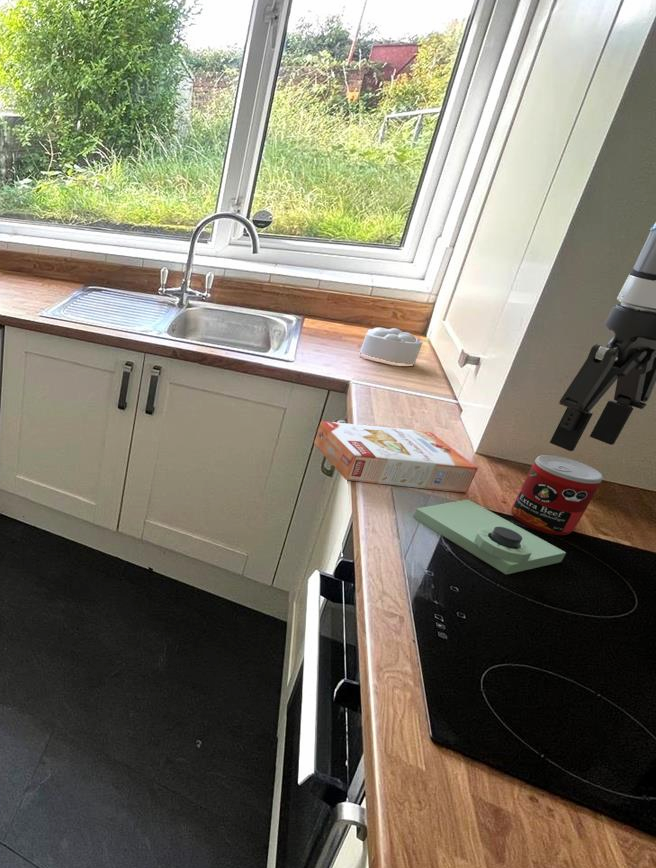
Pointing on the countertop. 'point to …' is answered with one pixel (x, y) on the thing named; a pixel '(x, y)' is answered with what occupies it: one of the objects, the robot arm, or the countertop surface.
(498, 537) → the button
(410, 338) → the lumpy-topped squat cylinder
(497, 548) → the scale
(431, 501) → the countertop surface
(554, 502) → the canned food
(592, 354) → the robot arm
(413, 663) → the countertop surface
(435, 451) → the cracker box
